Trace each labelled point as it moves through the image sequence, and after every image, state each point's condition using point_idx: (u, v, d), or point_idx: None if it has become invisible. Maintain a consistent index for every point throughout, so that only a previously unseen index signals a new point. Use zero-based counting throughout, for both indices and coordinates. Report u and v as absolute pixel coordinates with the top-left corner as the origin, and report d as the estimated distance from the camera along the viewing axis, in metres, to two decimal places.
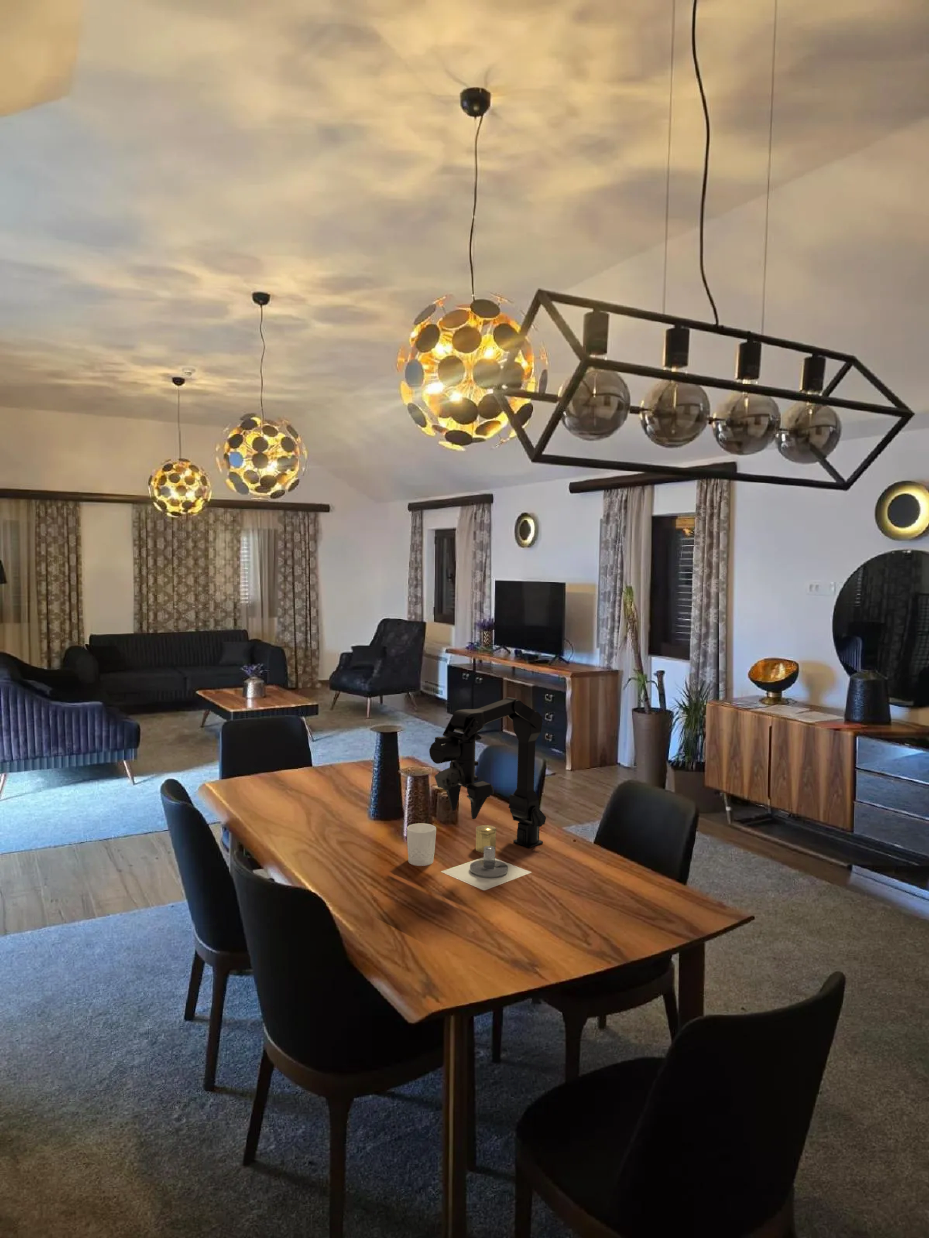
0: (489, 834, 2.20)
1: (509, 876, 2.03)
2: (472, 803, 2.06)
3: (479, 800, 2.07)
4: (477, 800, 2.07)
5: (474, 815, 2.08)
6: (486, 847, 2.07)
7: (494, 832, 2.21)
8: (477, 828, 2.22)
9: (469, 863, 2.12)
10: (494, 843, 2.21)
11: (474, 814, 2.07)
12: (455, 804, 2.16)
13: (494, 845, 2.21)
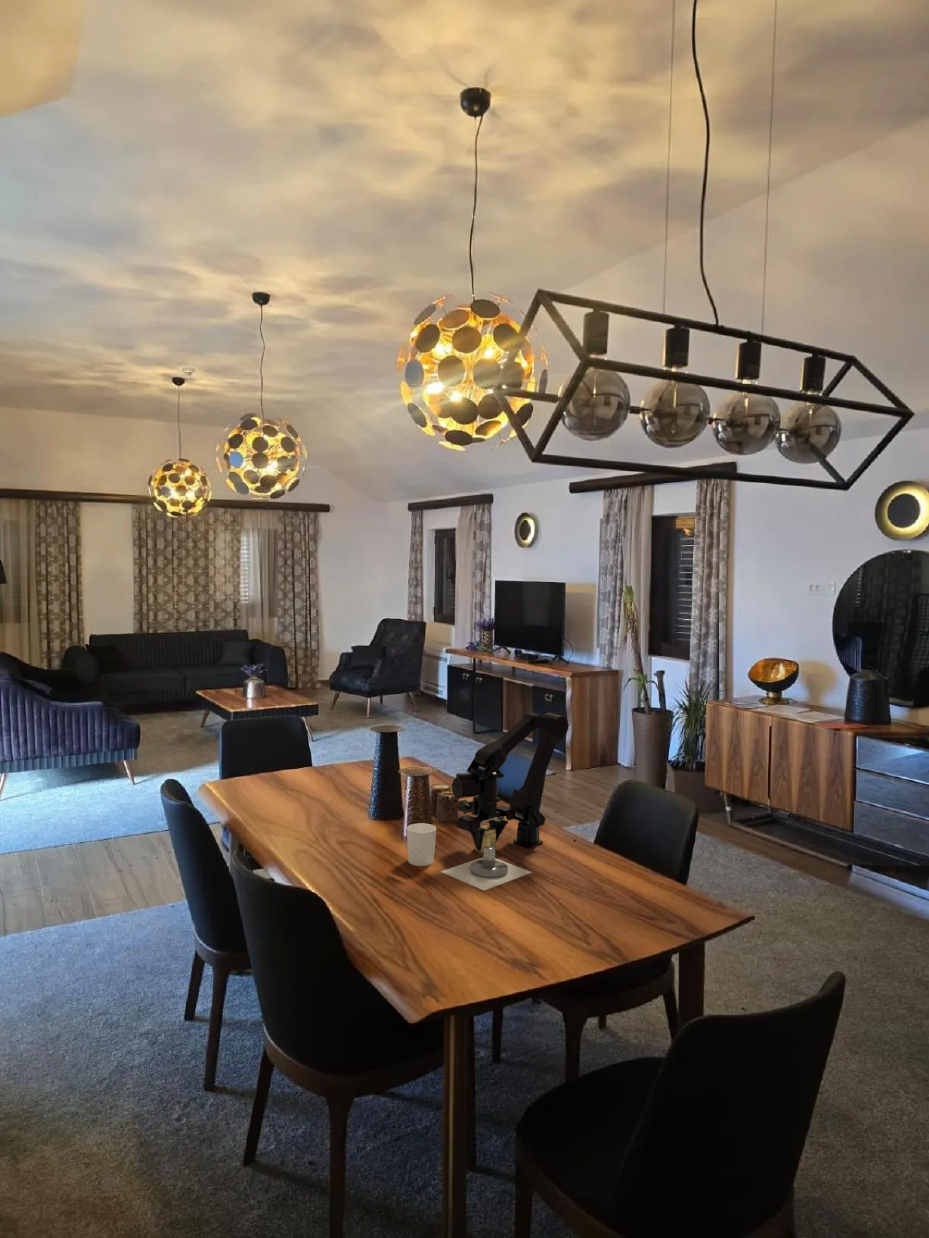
0: (489, 834, 2.20)
1: (509, 876, 2.03)
2: None
3: (477, 833, 2.19)
4: (476, 832, 2.19)
5: (476, 846, 2.20)
6: (486, 847, 2.07)
7: (494, 832, 2.21)
8: None
9: (469, 863, 2.12)
10: (494, 843, 2.21)
11: (476, 845, 2.20)
12: None
13: (494, 845, 2.21)
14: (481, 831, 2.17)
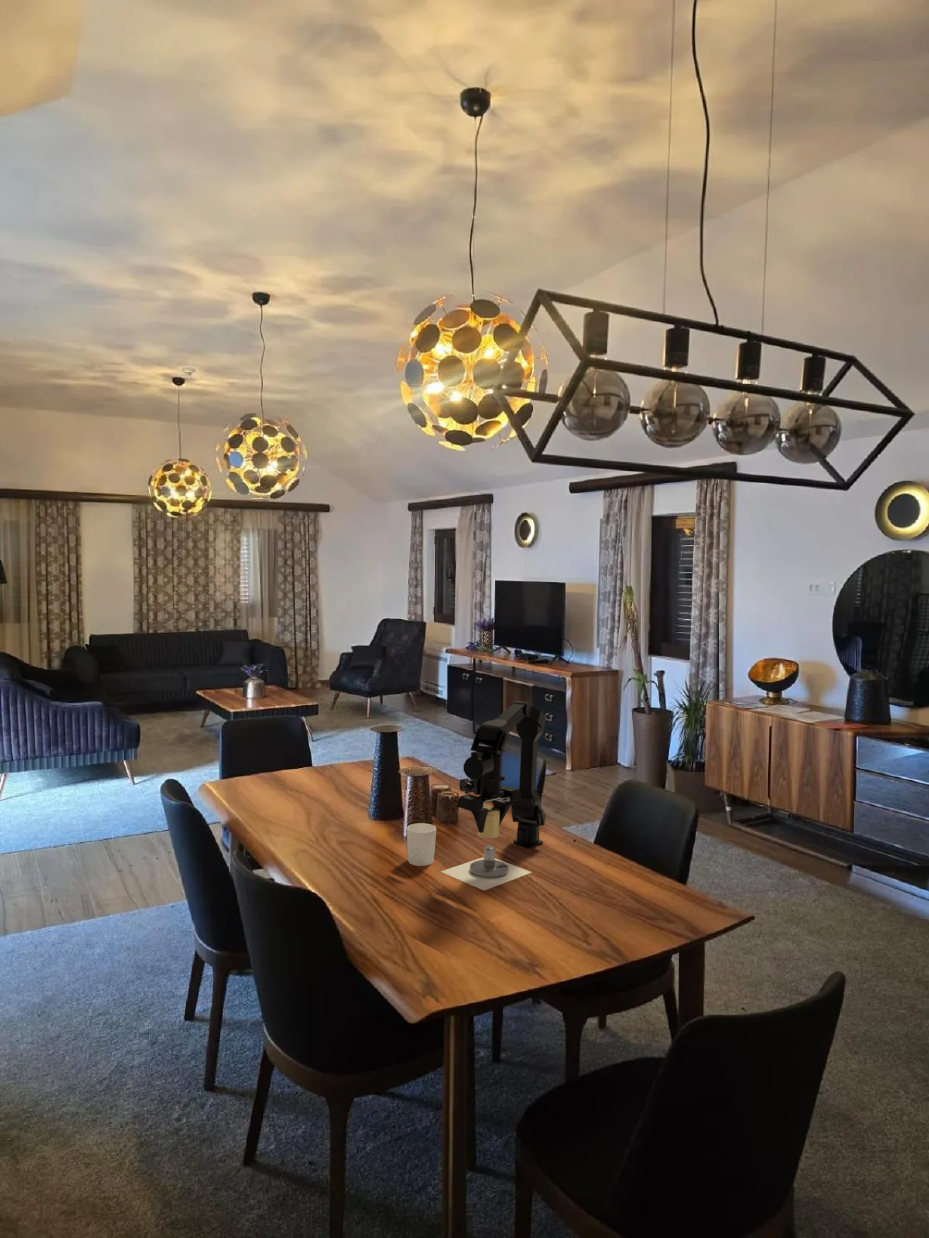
0: (492, 814, 2.04)
1: (509, 876, 2.03)
2: None
3: (480, 814, 2.03)
4: (478, 813, 2.04)
5: (478, 828, 2.04)
6: (486, 847, 2.07)
7: (498, 813, 2.05)
8: None
9: (469, 863, 2.12)
10: (498, 825, 2.05)
11: (478, 827, 2.04)
12: None
13: (498, 827, 2.05)
14: (484, 811, 2.01)
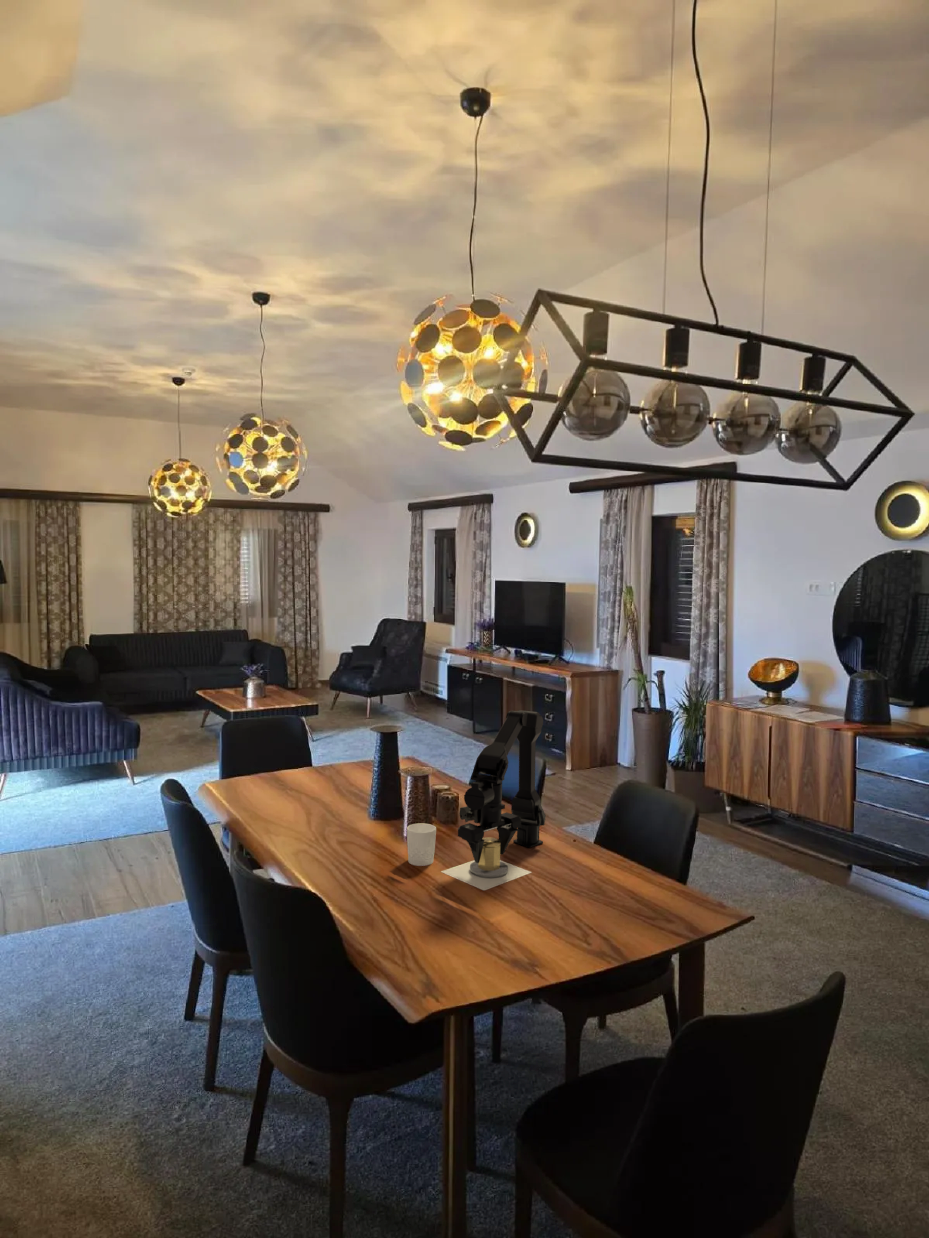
0: (493, 847, 2.04)
1: (509, 876, 2.03)
2: None
3: (476, 844, 2.01)
4: (474, 843, 2.02)
5: (475, 858, 2.03)
6: None
7: (498, 845, 2.05)
8: None
9: (469, 863, 2.12)
10: (498, 857, 2.05)
11: (474, 857, 2.03)
12: (502, 849, 2.09)
13: (498, 859, 2.05)
14: (480, 842, 1.99)
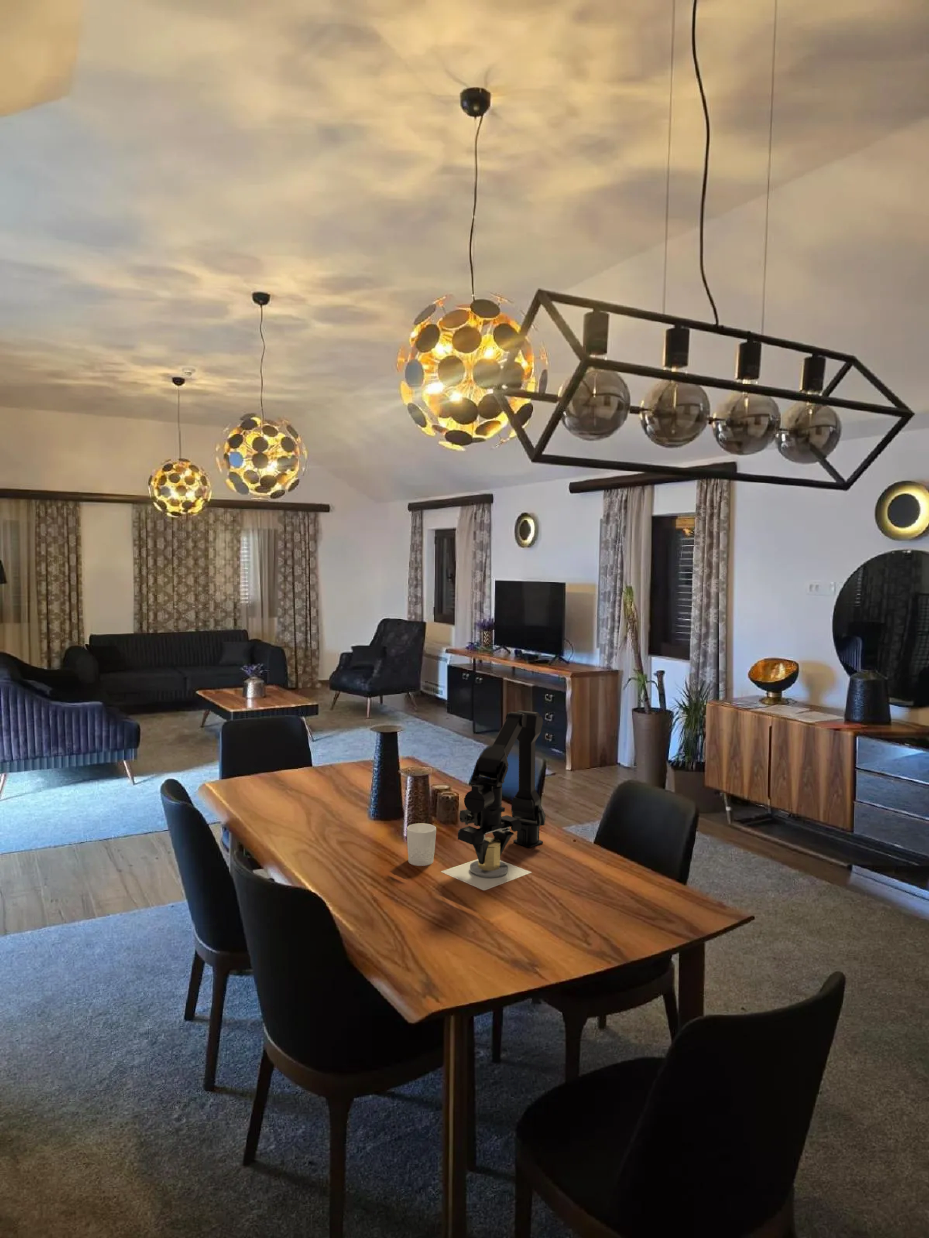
0: (493, 847, 2.04)
1: (509, 876, 2.03)
2: None
3: (480, 846, 2.03)
4: (479, 845, 2.03)
5: (479, 860, 2.04)
6: None
7: (498, 845, 2.05)
8: None
9: (469, 863, 2.12)
10: (498, 857, 2.05)
11: (479, 858, 2.04)
12: None
13: (498, 859, 2.05)
14: (484, 844, 2.01)
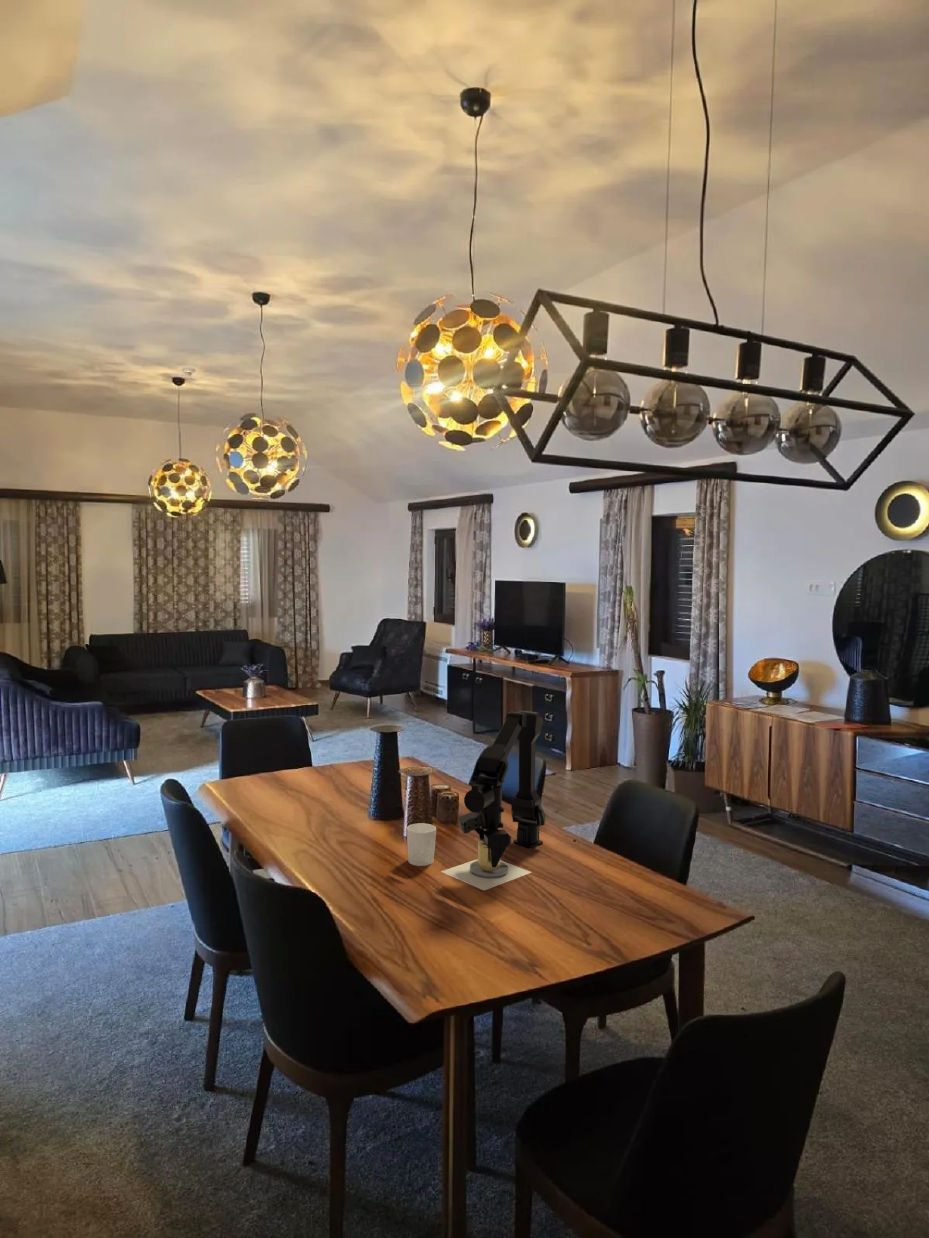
0: None
1: (509, 876, 2.03)
2: (490, 851, 2.00)
3: (498, 848, 2.01)
4: (496, 848, 2.01)
5: (493, 863, 2.01)
6: None
7: None
8: None
9: (469, 863, 2.12)
10: None
11: (493, 862, 2.01)
12: None
13: None
14: None
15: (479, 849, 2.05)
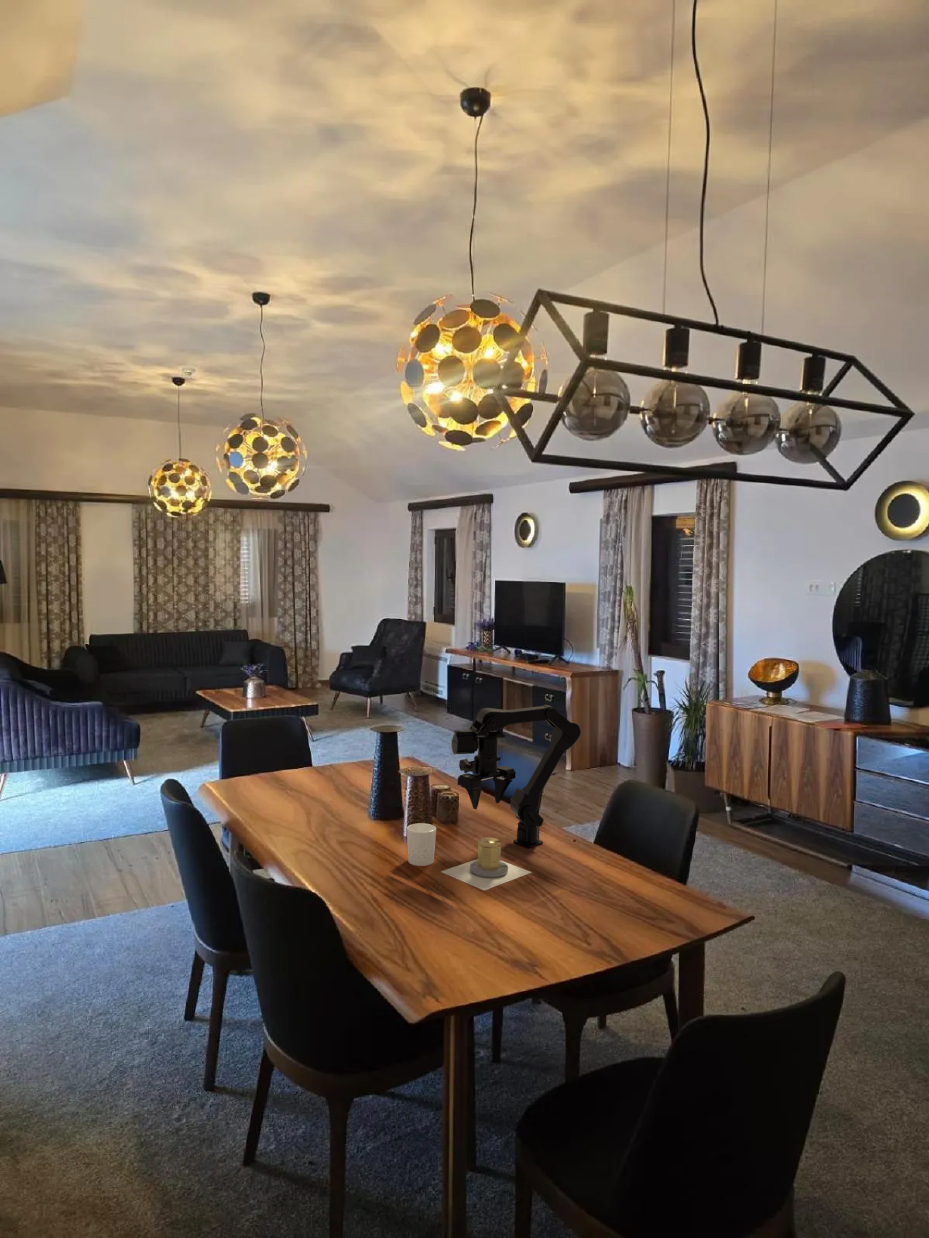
0: None
1: (509, 876, 2.03)
2: None
3: (474, 792, 2.21)
4: (473, 791, 2.22)
5: (473, 805, 2.23)
6: None
7: None
8: (494, 844, 2.04)
9: (469, 863, 2.12)
10: None
11: (472, 804, 2.23)
12: (498, 798, 2.29)
13: None
14: (478, 789, 2.19)
15: (487, 852, 2.03)
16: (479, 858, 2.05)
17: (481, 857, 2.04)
